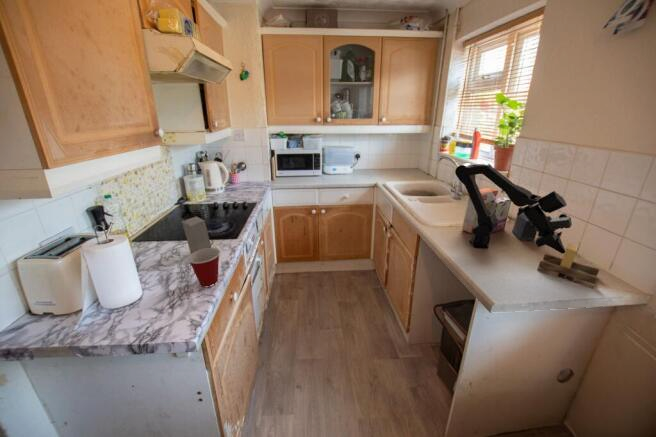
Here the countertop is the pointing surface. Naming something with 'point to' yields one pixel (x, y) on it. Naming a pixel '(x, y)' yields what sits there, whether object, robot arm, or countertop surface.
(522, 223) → the small box
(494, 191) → the cracker box
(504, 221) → the candy bar box
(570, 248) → the block
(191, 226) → the skincare box
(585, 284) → the board
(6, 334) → the countertop surface
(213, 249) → the plastic cup
